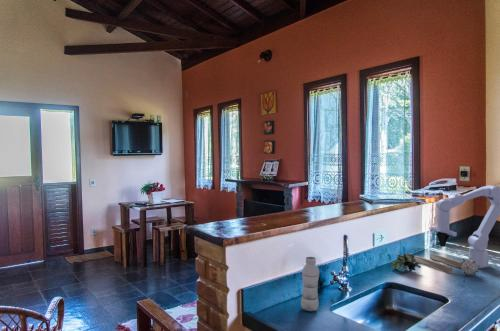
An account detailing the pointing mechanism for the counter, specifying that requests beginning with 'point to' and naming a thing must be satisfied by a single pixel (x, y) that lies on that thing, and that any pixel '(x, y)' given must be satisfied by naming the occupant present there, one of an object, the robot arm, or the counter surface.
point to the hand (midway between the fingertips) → (442, 246)
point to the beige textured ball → (469, 267)
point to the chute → (439, 265)
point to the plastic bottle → (310, 285)
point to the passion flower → (405, 262)
